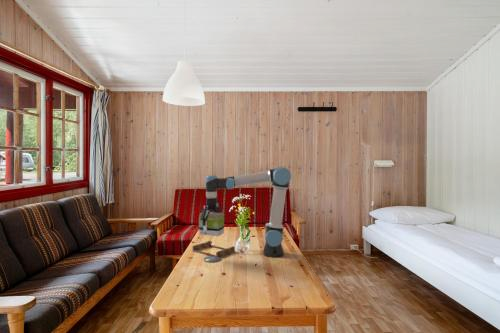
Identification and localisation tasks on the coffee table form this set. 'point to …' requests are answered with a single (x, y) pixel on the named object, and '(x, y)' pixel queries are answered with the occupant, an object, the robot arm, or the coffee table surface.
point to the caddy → (208, 244)
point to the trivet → (212, 259)
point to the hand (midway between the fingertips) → (211, 228)
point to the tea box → (212, 224)
